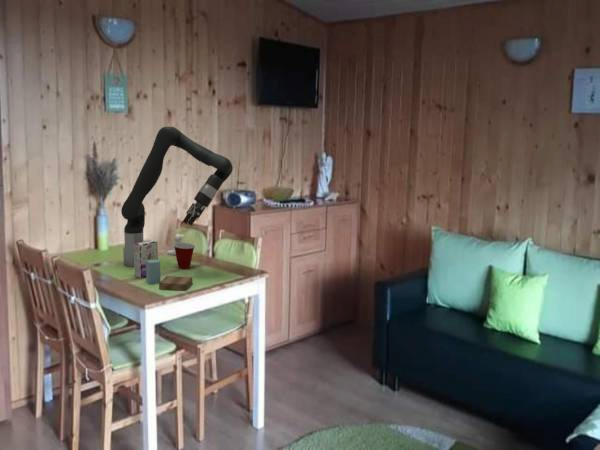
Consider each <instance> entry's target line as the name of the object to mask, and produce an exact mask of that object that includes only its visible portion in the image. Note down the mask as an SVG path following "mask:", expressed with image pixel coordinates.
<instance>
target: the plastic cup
mask: <svg viewBox="0 0 600 450" xmlns="http://www.w3.org/2000/svg"><path fill="white" fill-rule="evenodd" d="M174 247H175V252H176V255H175V256H176V262H177V267H178V269H181V270H182V269H183V270H186V269H187V270H188V269H190V267H191V265H192V260H193V259H192V258H193V254H194V250H195V248H196V244H193V243H189V242H182V243H176V244H175V243H174V244H173V248H174Z"/></svg>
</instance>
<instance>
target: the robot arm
mask: <svg viewBox="0 0 600 450" xmlns="http://www.w3.org/2000/svg"><path fill="white" fill-rule="evenodd" d="M171 146H172V147H173V146H174V147H177V148H179V149H181V150H184V151H185V152H187V153H188V154H189V155H191V157H192V158H194V159H195V160H197V161H198V162H200V163H202V164H203V165H206V166H208V167H212V168H215V169H216V170H215V172H214V173H213V174H210V175H209V176H208V178H207V180H206V181H205V182H204V184H203V185H202V186H201V187H200V189H199V191H198V192H197V193H196V195H195V196H194V198H193V200H194V201H196V202H195V203H194V202H192V204H191V205H190V206H189V208H188V209H187V211H185V212H186V213H185V214H186V215H185V217H184V219H183V220H182V222H183V223H184V224H185V225H186V224H188V225H189V226H193V224H194V223H195V221H196V220H197V219H199V218H200V217H201V216H202V214H203V212H204V211H205V209H206V208H208V207H209V206H210V205H211V202H213V200H214V198H215V196H216V195H217V192H218V191H219V189H220V188H221V187H222V185H223V184H224V183H225V181H226V180H228V178H229V177H230V176H231V174H232V172H233V169H234V168H233V164H232V162H231V160H230V159H228V157H225V156H223V155H220V154H218V153H215V152H214V151H212V150H210V149H209V148H206V147H204V146H203V145H201V144H200V143H197V142H196V141H194V140H192V139H191V138H189V137H188V136H186V135H185V134H184V133H183V132H182V131H180V130H179V129H178V128H176V127H174V126H163V127H161V128H160V129H159V130H158V131H157V134H156V137H155V139H154V141H153V144H152V147H151V149H150V152H149V153H148V156H147V157H146V159H145V162H144V164H143V166H142V168H141V169H140V172H139V174H138V176H137V179H136V180H135V183H134V185H133V187H132V190H131V191H130V193H129V195H128V197H127V198H126V199H125V201H124V203H123V205H122V206H121V209H120V211H121V216H122V217H123V219H125V220H127V222H126V224H125V226H124V228H123V230H124V231H123V232H124V234H123V235H124V247H123V248H122V250H123V251H122V253H123V255H122V256H123V267H126V268H127V267H128V268H134V244H135V243H139V242H144V228H145V220H146V211H145V209H146V208H145V206H144V204H143V202H144V200H145V198H146V196H147V195H148V194H149V193H150V192H151V191H152V189H153V188H154V187H155V185H156V184H157V182H158V181H159V179H160V176H161V174H162V172H163V166H164V160H165V156H166V154H167V152H168V151H169V149H170V147H171Z"/></svg>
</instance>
